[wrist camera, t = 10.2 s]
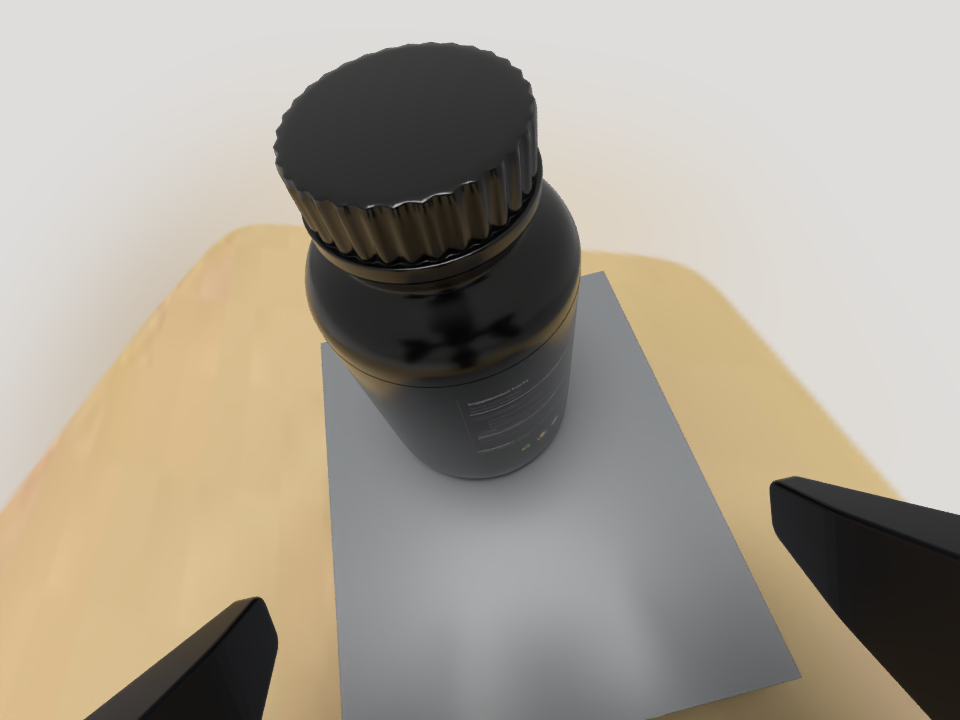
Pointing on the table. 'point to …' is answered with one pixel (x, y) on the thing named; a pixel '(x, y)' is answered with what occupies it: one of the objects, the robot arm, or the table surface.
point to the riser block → (542, 560)
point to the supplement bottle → (438, 250)
